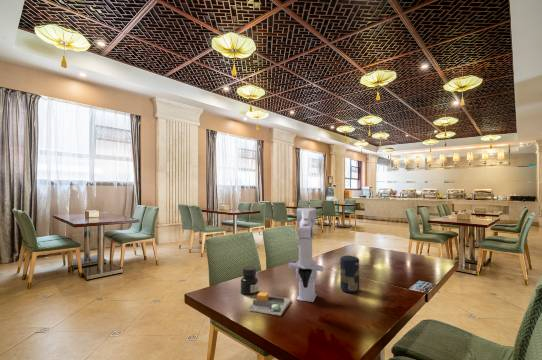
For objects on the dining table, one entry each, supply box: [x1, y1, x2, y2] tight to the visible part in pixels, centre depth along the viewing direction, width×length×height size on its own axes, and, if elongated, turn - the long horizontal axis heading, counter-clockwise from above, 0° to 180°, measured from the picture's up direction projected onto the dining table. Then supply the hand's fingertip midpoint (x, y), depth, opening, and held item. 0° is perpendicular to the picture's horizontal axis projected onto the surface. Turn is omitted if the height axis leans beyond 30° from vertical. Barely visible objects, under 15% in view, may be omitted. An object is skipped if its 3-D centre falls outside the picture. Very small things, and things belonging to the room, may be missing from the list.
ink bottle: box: [240, 266, 259, 296], centre depth 136 cm, size 10×9×12 cm
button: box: [271, 304, 279, 310], centre depth 112 cm, size 3×3×1 cm
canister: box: [339, 254, 360, 294], centre depth 139 cm, size 10×10×18 cm
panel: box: [249, 295, 292, 317], centre depth 119 cm, size 16×14×3 cm
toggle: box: [256, 291, 269, 302], centre depth 120 cm, size 4×4×3 cm
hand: (305, 286), depth 113 cm, fingers closed
